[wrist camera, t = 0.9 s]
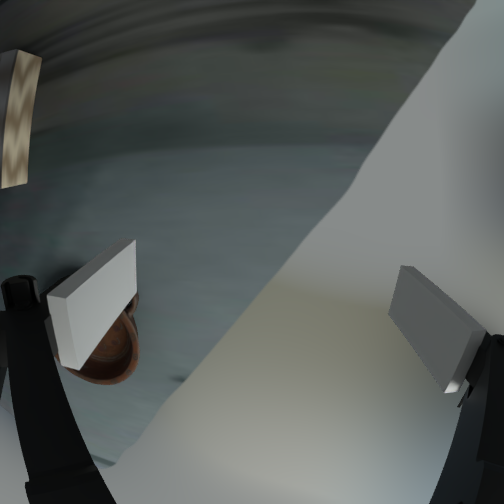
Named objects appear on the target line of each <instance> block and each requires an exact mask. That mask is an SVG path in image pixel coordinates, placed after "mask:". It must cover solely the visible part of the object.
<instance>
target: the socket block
mask: <svg viewBox="0 0 504 504" xmlns="http://www.w3.org/2000/svg"><path fill="white" fill-rule="evenodd" d="M41 62H42V58H41V57H38V56H35V55H32V54H29V53H26V52H24V51H21V50H18V49H14V50H11V51H7V52H3V53H0V189H2V188H6V187H11V186H15V185H20V184H25V183H27V171H28V153H29V141H30V130H31V121H32V113H33V106H34V99H35V93H36V87H37V81H38V76H39V71H40V66H41Z"/></svg>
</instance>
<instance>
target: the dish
mask: <svg viewBox="0 0 504 504" xmlns="http://www.w3.org/2000/svg"><path fill="white" fill-rule="evenodd" d="M138 301H139V295H138V292H136V294H135V295H134V296H133V298H132V303H131V304H130V305H129V306H126V307H125V308H124V309H123V311H122V312H121V313H120V315H119V316H118V317H117V319H116V320H115V321H114V323H113V324H112V326H111V327H110V328H109V330H108V331H107V332H106V334H105V335H104V336H103V338H102V339H101V341H100V342H99V343H98V345H97V346H96V347H95V349H94V350H93V352H92V353H91V354H90V356H89V357H88V359H87V360H86V362H85V363H84V364H83V366H82V367H81V369H80V370H76V369H73V368H69V367H65V366H64V367H65V368H66V369H67V370H68V371H70V372H71V373H73V374H74V375H76V376H78V377H80V378H82V379H84V380H86V381H88V382H91V383H94V384H101V385H113V384H117V383H120V382H122V381H124V380H125V379H127V378H128V377H129V376H130V375H131V374H132V373H133V372H134V371H135V369H136V367H137V365H138V361H139V357H140V348H139V342H138V332H137V327H136V324H135V320H134V318H133V313H134V312H135V310H136V308H137V305H138ZM55 357H56V359H57V360H58V361H59V362H60V358H59V354H58V352H57V354H56V355H55ZM60 363H61V362H60Z"/></svg>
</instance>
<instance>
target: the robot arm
mask: <svg viewBox="0 0 504 504" xmlns="http://www.w3.org/2000/svg"><path fill="white" fill-rule="evenodd" d="M1 289H2V294H3V299H4V304H5V308H6V311H0V398H1V393H2V389H3V384H4V380H5V375H6V371H7V367H8V371H9V380H10V388H11V396H12V403H13V409H14V415H15V420H16V426H17V431H18V436H19V440H20V445H21V449H22V453H23V457H24V461H25V465H26V468H27V472H28V476H29V482H25V489H26V493H27V497H28V500H29V503H30V504H116V502H115V500H114V498H113V497H112V495H111V493H110V491H109V489H108V488H107V486H106V484H105V482H104V480H103V478H102V476H101V475H100V472H99V471H98V469H97V467H96V466H95V464H94V462H93V460H92V458H91V456H90V453H89V451H88V449H87V447H86V445H85V442H84V440H83V438H82V436H81V433H80V431H79V428H78V426H77V423H76V421H75V418H74V416H73V413H72V411H71V408H70V405H69V403H68V400H67V397H66V394H65V391H64V389H63V386H62V383H61V380H60V376H59V373H58V370H57V367H56V364H55V360H54V356H55V355H56V354H57V352H58V354H59V358H60V362H61V365H62V366H65V367H69V368H73V369H76V370H80V369H81V367H82V366H83V364H84V363H85V362H86V360H87V359H88V357H89V356H90V354H91V353H92V352H93V350H94V349H95V347H96V346H97V345H98V343H99V342H100V341H101V339H102V338H103V336H104V335H105V334H106V332H107V331H108V330H109V328H110V327H111V326H112V324H113V323H114V321H115V320H116V319H117V317H118V316H119V315H120V313H121V312H122V311H123V309H124V308H125V307H126V305H127V304H128V303H129V302H130V300H131V299H132V298H133V296H134V295H135V294H136V292H137V286H136V240H134V239H123V238H121V239H119V240H118V241H117V242H115V243H114V244H113V245H111V246H110V247H108V248H107V249H106V250H104V251H103V252H102V253H100V254H99V255H98V256H96V257H95V258H93V259H92V260H91V261H89V262H88V263H87V264H86V265H84V266H83V267H82V268H80V269H79V270H78V271H76V272H75V273H74V274H72V275H69V276H66V277H64V278H61V279H60V280H59V281H57V282H56V283H55V284H54V285H52V286H51V287H50V288H49V289H47V290H46V291H44V292H43V293H42V294H41V295H39V292H38V286H37V280H36V278H35V277H33V276H30V275H18V276H13V277H10V278H8V279H6V280H5V281H3V282H2V284H1ZM388 314H389V316H390V317H391V319H392V320H393V321H394V323H395V324H396V325H397V327H398V328H399V329H400V331H401V332H402V333H403V335H404V336H405V338H406V339H407V340H408V342H409V343H410V345H411V346H412V347H413V349H414V350H415V351H416V353H417V354H418V356H419V357H420V358H421V360H422V361H423V363H424V364H425V366H426V367H427V369H428V370H429V371H430V373H431V374H432V376H433V377H434V379H435V380H436V382H437V383H438V384H439V386H440V388H441V389H442V391H443V392H444V393H449V392H457V391H459V389H460V388H461V386H462V384H463V382H464V380H465V378H466V380H467V381H468V382H469V387H468V388H467V390H466V392H465V394H464V396H463V397H462V399H461V401H460V403H459V405H458V406H457V407H460V406H461V405H462V408H461V412H460V417H459V420H458V424H457V427H456V431H455V434H454V438H453V441H452V444H451V447H450V450H449V453H448V456H447V459H446V462H445V465H444V468H443V470H442V473H441V476H440V478H439V481H438V484H437V486H436V489H435V491H434V493H433V496H432V498H431V501H430V503H429V504H504V335H499V334H495V335H493V336H491V335H490V334H489V333H488V332H487V331H486V329H485V328H484V327H482V325H481V324H479V323H478V322H477V321H476V320H475V319H474V318H473V317H472V316H471V315H469V314H468V313H467V312H466V311H465V310H464V309H463V308H462V307H461V306H459V305H458V304H457V303H456V302H455V301H454V300H452V299H451V298H450V297H449V296H448V295H447V294H446V293H444V292H443V291H442V290H441V289H440V288H439V287H437V286H436V285H435V284H434V283H433V282H431V281H430V280H429V279H428V278H426V277H425V276H424V275H423V274H422V273H421V272H419V271H418V270H417V269H416V268H414V267H411V266H401V267H400V272H399V276H398V280H397V284H396V288H395V291H394V295H393V299H392V302H391V306H390V309H389V313H388Z"/></svg>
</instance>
